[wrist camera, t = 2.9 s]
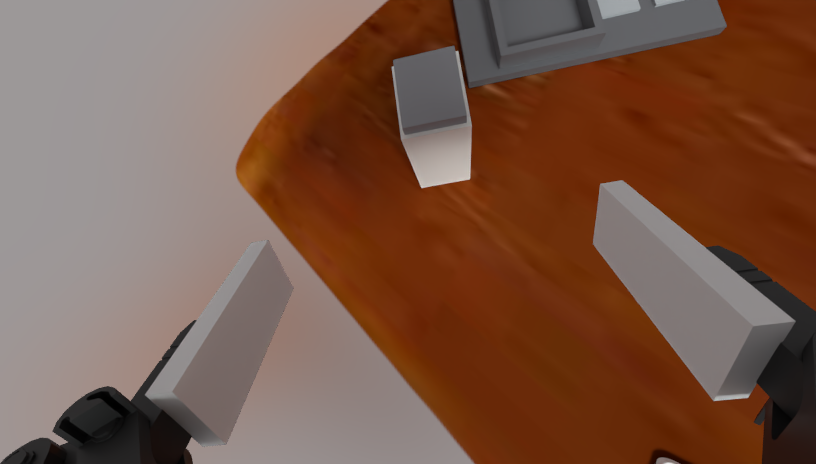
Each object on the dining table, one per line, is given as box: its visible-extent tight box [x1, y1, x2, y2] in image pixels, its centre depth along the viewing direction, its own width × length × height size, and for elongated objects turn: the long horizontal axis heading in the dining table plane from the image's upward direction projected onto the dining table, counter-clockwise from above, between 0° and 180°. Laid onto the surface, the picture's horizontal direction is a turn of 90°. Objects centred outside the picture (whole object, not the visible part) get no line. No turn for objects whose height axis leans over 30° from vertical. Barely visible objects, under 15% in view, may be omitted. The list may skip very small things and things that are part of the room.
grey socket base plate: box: [453, 0, 727, 88], centre depth 34 cm, size 24×12×3 cm, turn 97°
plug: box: [392, 46, 472, 188], centre depth 29 cm, size 5×6×12 cm
